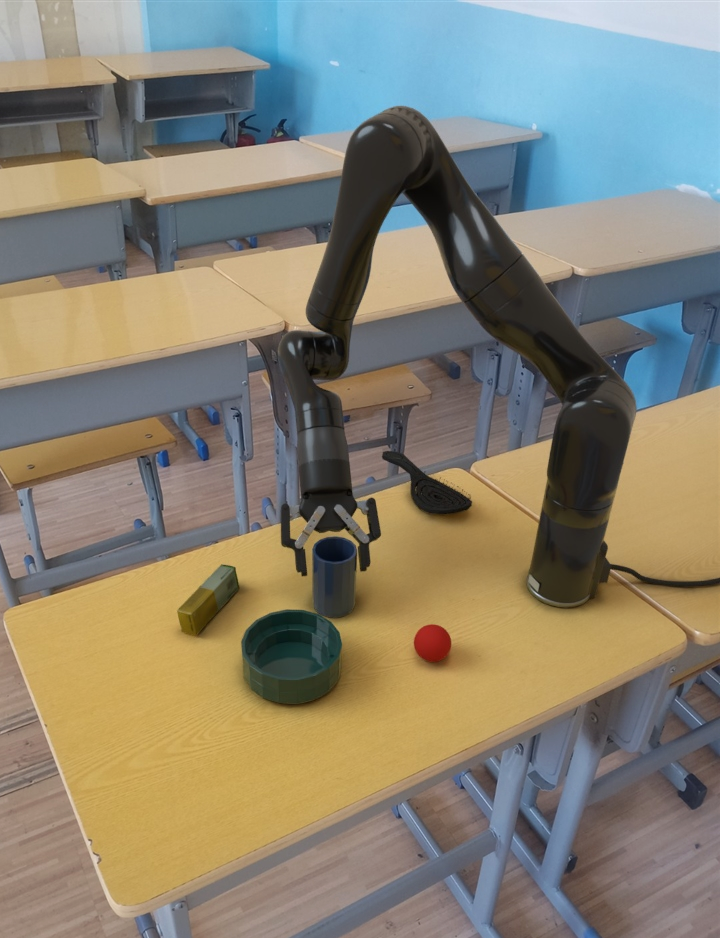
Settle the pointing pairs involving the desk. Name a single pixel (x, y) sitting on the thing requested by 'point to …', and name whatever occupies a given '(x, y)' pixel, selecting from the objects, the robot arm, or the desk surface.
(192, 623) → the medication box
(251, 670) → the bowl
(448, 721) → the desk surface
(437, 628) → the ball
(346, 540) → the pencil cup
